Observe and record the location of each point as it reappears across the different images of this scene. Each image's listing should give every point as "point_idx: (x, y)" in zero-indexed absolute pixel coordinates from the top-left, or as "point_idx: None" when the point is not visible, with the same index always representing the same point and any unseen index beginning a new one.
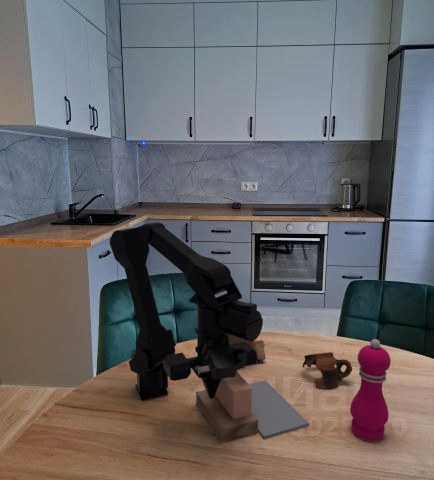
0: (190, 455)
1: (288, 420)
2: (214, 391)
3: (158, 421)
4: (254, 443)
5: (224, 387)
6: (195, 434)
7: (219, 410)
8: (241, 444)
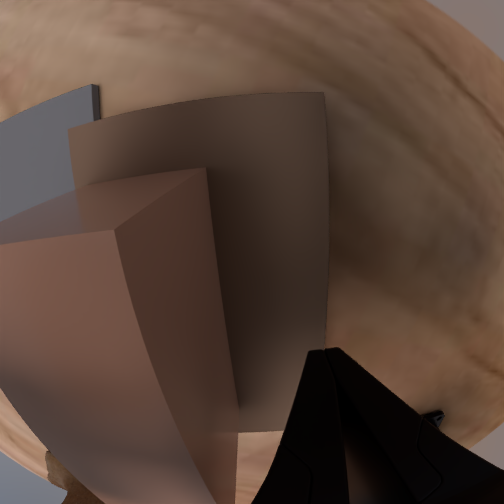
0: (445, 100)
1: None
2: (321, 388)
3: (460, 323)
4: (147, 65)
5: (205, 411)
6: (393, 211)
7: (263, 283)
8: (209, 70)
